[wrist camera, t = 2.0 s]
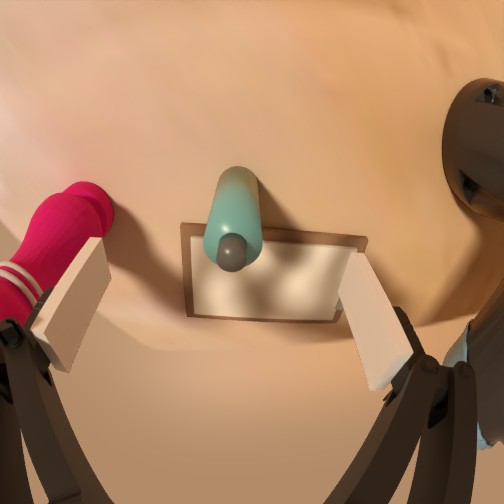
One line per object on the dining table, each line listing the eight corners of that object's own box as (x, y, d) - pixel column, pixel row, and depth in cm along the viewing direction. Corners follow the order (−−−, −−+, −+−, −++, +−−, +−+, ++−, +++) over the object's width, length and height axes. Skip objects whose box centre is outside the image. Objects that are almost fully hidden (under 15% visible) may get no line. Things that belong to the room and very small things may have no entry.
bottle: (259, 168, 23) (267, 234, 14) (255, 204, 25) (260, 286, 16) (219, 165, 23) (198, 229, 14) (217, 201, 25) (199, 282, 16)
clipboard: (369, 236, 27) (373, 243, 26) (338, 319, 34) (341, 327, 33) (181, 222, 26) (178, 229, 25) (187, 313, 33) (185, 321, 32)
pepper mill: (124, 241, 27) (36, 422, 11) (68, 239, 27) (-28, 389, 10) (112, 173, 23) (-36, 347, 7) (54, 178, 23) (-84, 318, 6)
